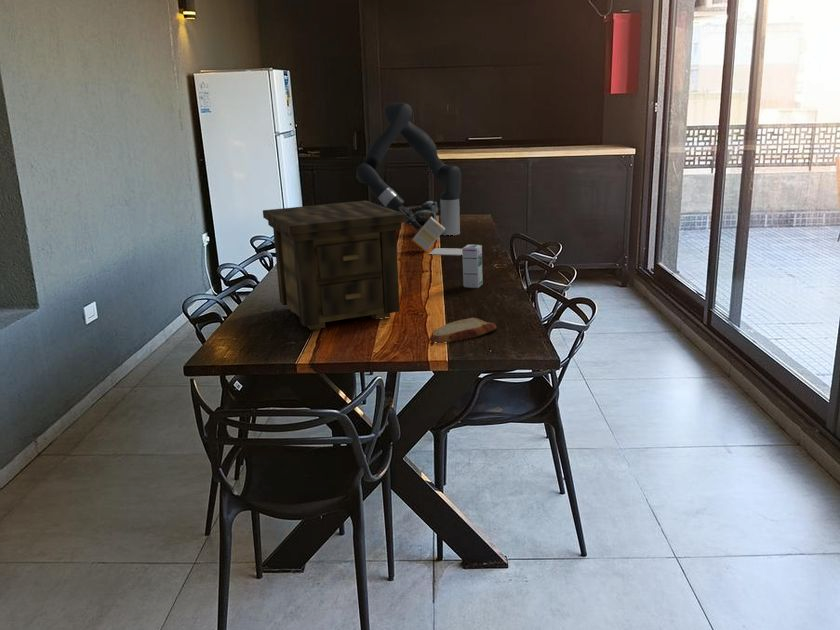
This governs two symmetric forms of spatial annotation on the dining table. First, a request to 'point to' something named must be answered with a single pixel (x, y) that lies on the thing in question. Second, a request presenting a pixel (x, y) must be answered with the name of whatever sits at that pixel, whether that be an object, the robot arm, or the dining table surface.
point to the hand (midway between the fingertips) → (419, 228)
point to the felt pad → (446, 251)
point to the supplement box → (428, 234)
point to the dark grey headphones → (426, 211)
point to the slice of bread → (462, 330)
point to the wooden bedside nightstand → (337, 260)
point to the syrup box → (472, 266)
